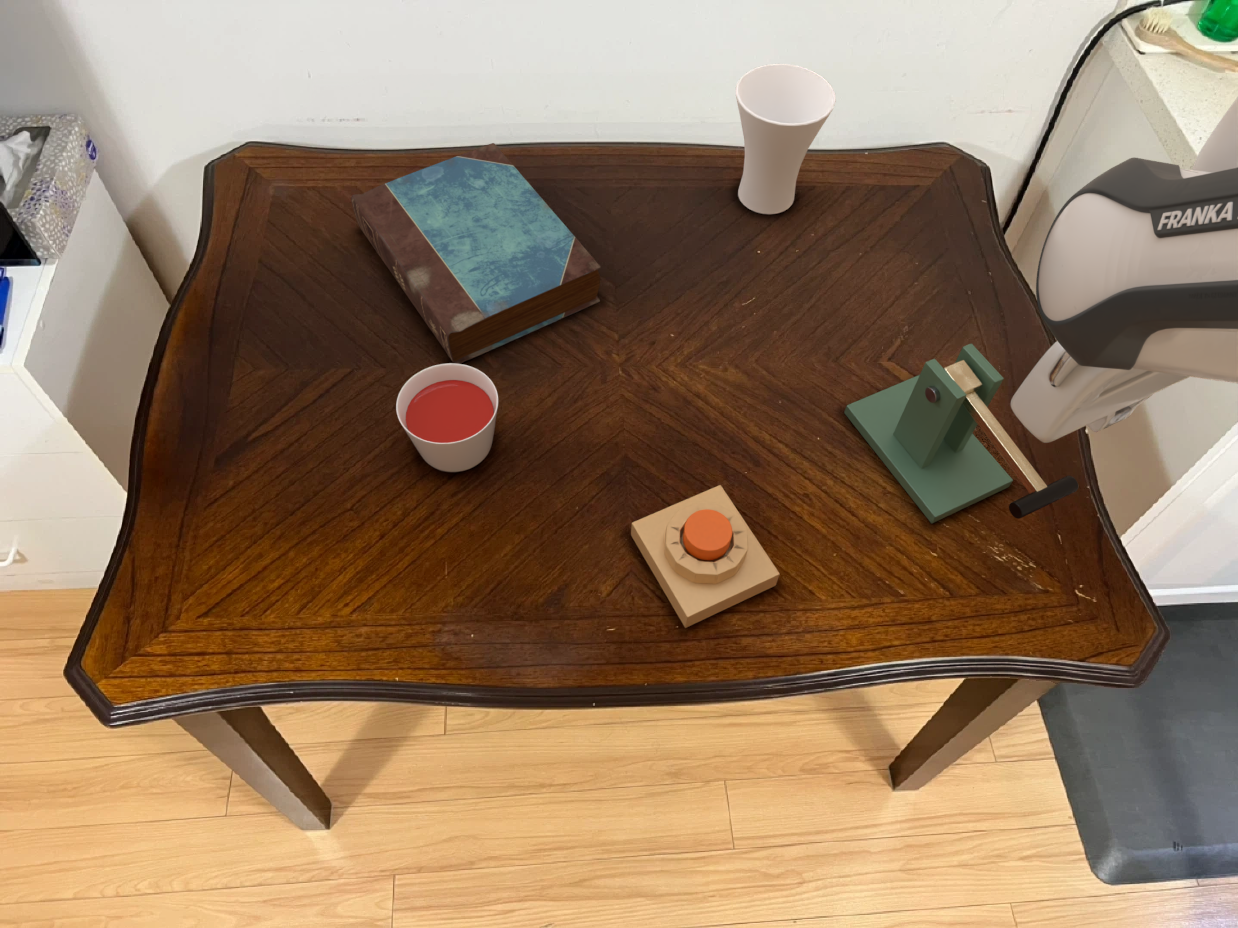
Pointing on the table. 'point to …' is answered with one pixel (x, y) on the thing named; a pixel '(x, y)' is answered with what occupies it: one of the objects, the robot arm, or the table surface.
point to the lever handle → (1009, 448)
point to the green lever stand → (933, 437)
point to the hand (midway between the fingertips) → (1102, 418)
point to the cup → (778, 130)
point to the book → (477, 251)
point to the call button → (703, 582)
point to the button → (707, 534)
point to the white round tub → (449, 415)
